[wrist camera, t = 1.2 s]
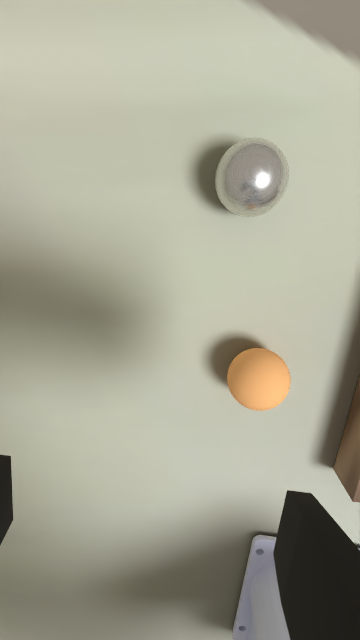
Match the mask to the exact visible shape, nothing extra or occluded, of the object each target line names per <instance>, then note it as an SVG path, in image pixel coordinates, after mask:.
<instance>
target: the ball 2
mask: <svg viewBox="0 0 360 640" xmlns="http://www.w3.org/2000/svg"><path fill="white" fill-rule="evenodd" d="M227 382H228V387H229V390H230V392H231V394H232V395H233V397H234V398H235V399H236V400H237V401H238V402H239V403H240V404H241V405H243V406H244V407H247V408H249V409H252V410H258V411H262V410H268V409H271V408H274V407H276V406H277V405H279V404H280V403H281V402H282V401H283V400H284V399H285V397H286V396H287V394H288V392H289V389H290V383H291V379H290V373H289V369H288V367H287V365H286V364H285V362H284V361H283V360H282V358H281V357H279V356H278V355H277V354H276V353H274V352H272V351H270V350H267V349H263V348H252V349H248V350H245V351H243V352H241V353H240V354H239V355H237V356H236V357H235V358H234V360H233V361H232V362H231V364H230V366H229V369H228V374H227Z"/></svg>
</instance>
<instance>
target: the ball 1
mask: <svg viewBox="0 0 360 640" xmlns="http://www.w3.org/2000/svg"><path fill="white" fill-rule="evenodd" d="M288 178H289V170H288V164H287V161H286V158H285V156H284V154H283V153H282V151H281V150H280V149H279V148H278V147H277V146H276V145H275V144H273V143H272V142H270V141H268V140H265V139H261V138H249V139H245V140H242V141H240V142H238V143H236V144H234V145H233V146H232V147H230V148H229V149H228V150H227V151H226V152H225V154H224V155H223V156H222V158H221V160H220V162H219V164H218V166H217V169H216V174H215V187H216V192H217V195H218V197H219V199H220V201H221V203H222V204H223V205H224V206H225V207H226V208H227V209H228V210H229V211H231V212H232V213H234V214H237V215H240V216H245V217H252V216H258V215H261V214H263V213H265V212H267V211H269V210H270V209H272V208H273V207H274V206H275V205H276V204H277V203H278V202H279V201H280V199H281V198H282V196H283V194H284V192H285V190H286V187H287V184H288Z"/></svg>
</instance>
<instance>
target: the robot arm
mask: <svg viewBox="0 0 360 640" xmlns="http://www.w3.org/2000/svg"><path fill="white" fill-rule="evenodd" d="M12 521H13V504H12V478H11V456H6V455H0V545H1V543H2V541H3V539H4V537H5V535H6V533H7V531H8V529H9V527H10V525H11V523H12ZM232 632H233V639H234V640H360V548H357V546H356V545H355V544H354V543H353V542H352V541H351V539H350V538H349V537H348V536H347V535H346V534H345V532H344V531H343V530H342V529H341V528H340V526H339V525H338V524H337V523H336V522H335V521H334V519H333V518H332V517H331V516H330V515H329V513H328V512H327V511H326V510H325V509H324V507H323V506H322V505H321V504H320V503H319V502H318V500H317V499H316V498H315V497H314V496H313V495H312V494H311V493H304V492H296V491H288V490H287V494H286V498H285V503H284V507H283V511H282V516H281V520H280V525H279V529H278V534H277V537H272V536H265V535H257V536H255V537H254V538H253V540H252V545H251V549H250V554H249V558H248V563H247V567H246V572H245V577H244V581H243V586H242V590H241V595H240V599H239V604H238V609H237V613H236V618H235V622H234V627H233V631H232Z"/></svg>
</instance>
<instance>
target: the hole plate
mask: <svg viewBox="0 0 360 640" xmlns="http://www.w3.org/2000/svg"><path fill="white" fill-rule="evenodd" d="M333 469H334V471H335V473H336V474H337V476H338V478H339V479H340V481H341V483H342V484H343V486H344V488H345V489H346V491H347V493H348V494H349V496H350V498H351V500H352V501H353V502H360V376H359V379H358V383H357V386H356V390H355V393H354V397H353V400H352V404H351V407H350V411H349V415H348V418H347V422H346V425H345V429H344V432H343V436H342V439H341V443H340V447H339V450H338V454H337V457H336V461H335V464H334V468H333Z"/></svg>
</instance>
